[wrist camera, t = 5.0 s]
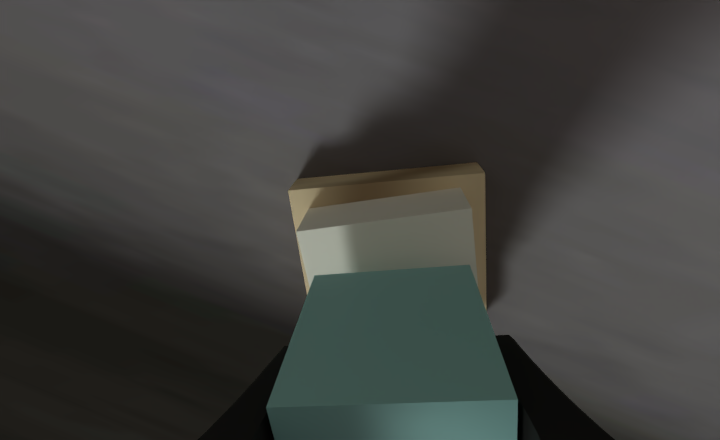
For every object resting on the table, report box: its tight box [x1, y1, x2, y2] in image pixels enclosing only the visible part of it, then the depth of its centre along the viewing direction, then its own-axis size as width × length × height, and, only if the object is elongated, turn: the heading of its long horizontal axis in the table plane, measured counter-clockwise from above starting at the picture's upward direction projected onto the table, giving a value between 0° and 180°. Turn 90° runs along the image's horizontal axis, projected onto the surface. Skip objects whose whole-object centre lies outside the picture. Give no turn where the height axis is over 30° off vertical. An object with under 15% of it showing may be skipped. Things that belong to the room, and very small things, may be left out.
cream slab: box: [296, 187, 478, 287], centre depth 15 cm, size 6×6×2 cm
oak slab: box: [288, 162, 486, 309], centre depth 17 cm, size 7×7×2 cm
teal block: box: [266, 265, 518, 440], centre depth 11 cm, size 4×4×5 cm
